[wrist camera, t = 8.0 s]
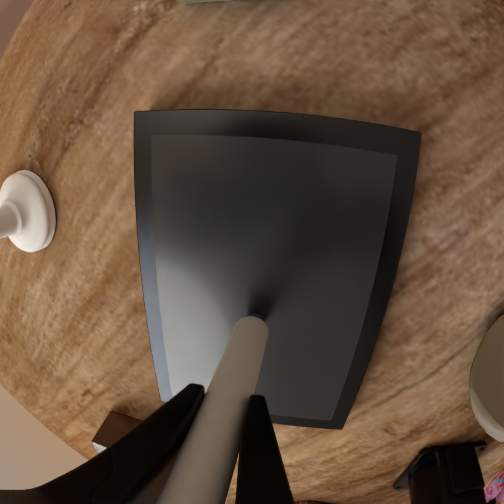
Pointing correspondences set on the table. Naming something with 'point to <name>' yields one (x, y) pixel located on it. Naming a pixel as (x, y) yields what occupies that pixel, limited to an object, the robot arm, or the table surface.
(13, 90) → the table surface
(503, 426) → the cream brown cylinder
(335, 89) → the table surface
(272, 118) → the tablet
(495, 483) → the headband
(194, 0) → the pen block
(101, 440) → the stand
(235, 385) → the stylus
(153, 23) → the table surface
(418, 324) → the table surface
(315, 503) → the figurine
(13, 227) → the chess piece
